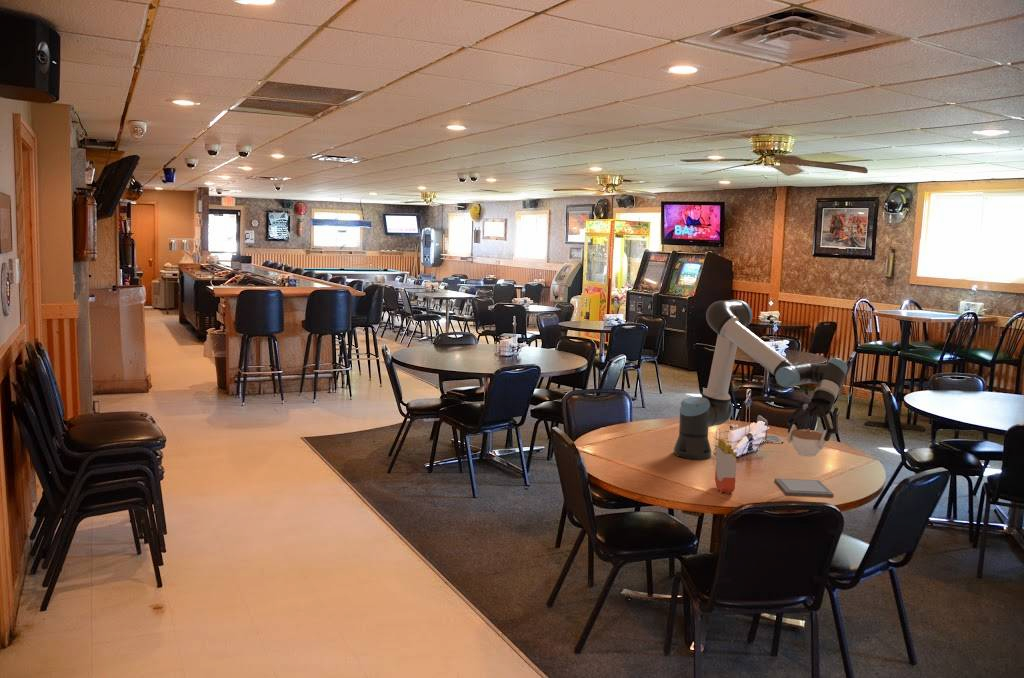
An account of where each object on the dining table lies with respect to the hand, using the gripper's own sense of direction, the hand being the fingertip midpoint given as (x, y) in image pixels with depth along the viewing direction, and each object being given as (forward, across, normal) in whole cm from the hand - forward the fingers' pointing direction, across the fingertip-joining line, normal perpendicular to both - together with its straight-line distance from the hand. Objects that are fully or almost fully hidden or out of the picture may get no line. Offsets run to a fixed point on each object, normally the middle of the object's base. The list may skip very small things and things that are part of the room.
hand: (804, 444), depth 274 cm
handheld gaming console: (-32, +42, -56) cm, 77 cm away
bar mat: (+10, 0, -14) cm, 17 cm away
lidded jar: (+1, 0, -5) cm, 5 cm away
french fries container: (+27, +19, +2) cm, 33 cm away
